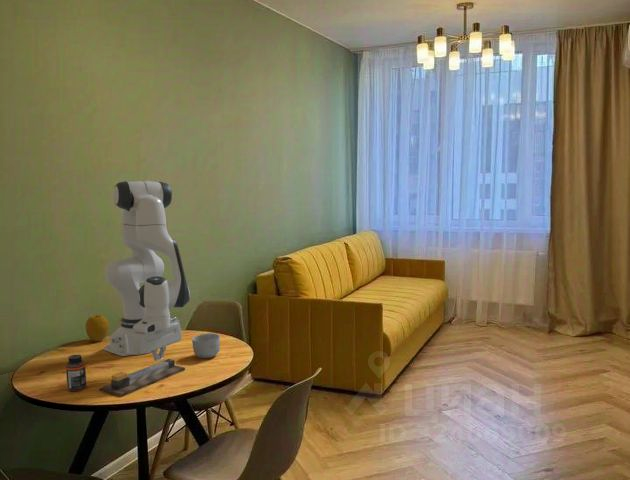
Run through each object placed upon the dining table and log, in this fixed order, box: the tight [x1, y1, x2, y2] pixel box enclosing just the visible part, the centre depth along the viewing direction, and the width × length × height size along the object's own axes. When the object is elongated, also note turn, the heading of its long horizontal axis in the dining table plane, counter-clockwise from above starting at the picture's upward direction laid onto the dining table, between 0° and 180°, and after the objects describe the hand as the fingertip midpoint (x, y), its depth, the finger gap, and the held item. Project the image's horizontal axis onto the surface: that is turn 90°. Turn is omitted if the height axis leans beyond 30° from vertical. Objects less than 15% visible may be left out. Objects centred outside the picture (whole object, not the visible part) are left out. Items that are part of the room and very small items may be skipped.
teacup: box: [191, 332, 221, 359], centre depth 220 cm, size 14×11×8 cm
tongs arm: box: [127, 358, 176, 381], centre depth 195 cm, size 21×3×1 cm, turn 150°
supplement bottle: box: [65, 354, 87, 392], centre depth 185 cm, size 6×6×11 cm
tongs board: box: [98, 362, 186, 398], centre depth 192 cm, size 29×11×4 cm, turn 150°
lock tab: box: [111, 371, 128, 381], centre depth 183 cm, size 4×3×1 cm
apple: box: [85, 314, 110, 343], centre depth 243 cm, size 10×10×12 cm
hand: (158, 359), depth 199 cm, fingers closed
